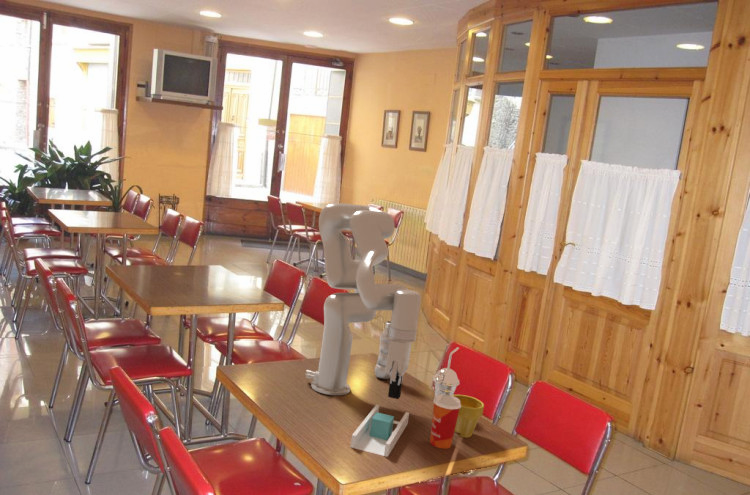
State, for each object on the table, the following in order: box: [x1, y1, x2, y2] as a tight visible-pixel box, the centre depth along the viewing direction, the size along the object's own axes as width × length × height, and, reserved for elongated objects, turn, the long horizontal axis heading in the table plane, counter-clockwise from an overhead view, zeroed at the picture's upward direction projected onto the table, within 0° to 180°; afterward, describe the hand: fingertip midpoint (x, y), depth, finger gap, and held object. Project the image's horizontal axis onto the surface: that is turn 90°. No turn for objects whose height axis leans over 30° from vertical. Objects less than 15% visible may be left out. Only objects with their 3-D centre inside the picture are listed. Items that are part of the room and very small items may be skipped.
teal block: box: [369, 411, 395, 440], centre depth 178 cm, size 5×5×5 cm
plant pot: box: [452, 394, 485, 438], centre depth 190 cm, size 10×10×10 cm
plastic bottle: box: [374, 320, 391, 380], centre depth 228 cm, size 6×7×20 cm
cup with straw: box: [432, 346, 460, 398], centre depth 205 cm, size 8×9×20 cm
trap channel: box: [349, 404, 410, 458], centre depth 178 cm, size 10×24×4 cm, turn 165°
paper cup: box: [429, 394, 461, 449], centre depth 177 cm, size 8×8×14 cm
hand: (394, 397), depth 185 cm, fingers closed
